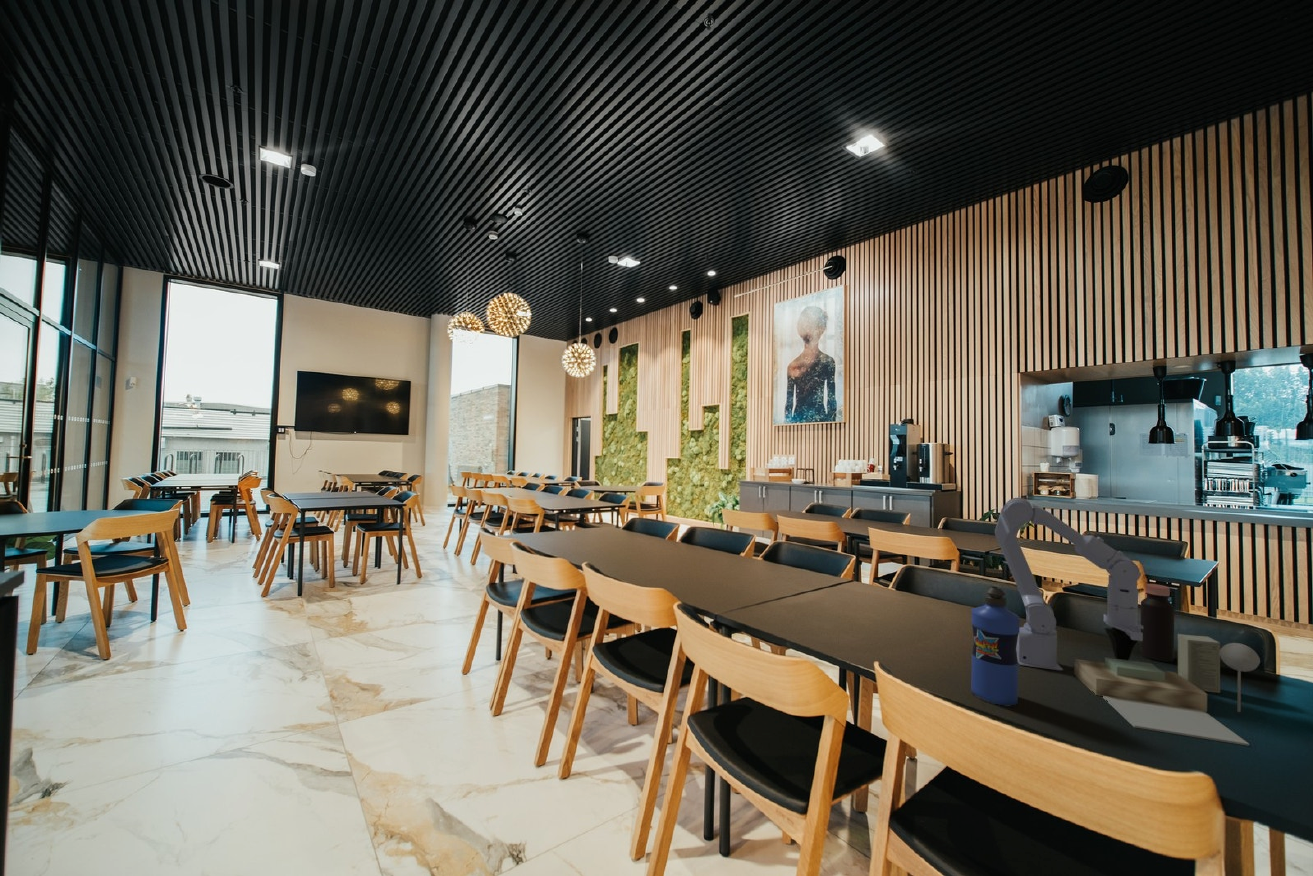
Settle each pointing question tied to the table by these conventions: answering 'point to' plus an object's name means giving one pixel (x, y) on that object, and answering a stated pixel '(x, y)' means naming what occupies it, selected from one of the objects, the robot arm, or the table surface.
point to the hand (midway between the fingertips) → (1121, 660)
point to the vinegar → (1157, 624)
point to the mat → (1173, 720)
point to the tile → (1134, 669)
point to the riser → (1141, 686)
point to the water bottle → (995, 650)
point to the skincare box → (1199, 661)
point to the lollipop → (1239, 662)
